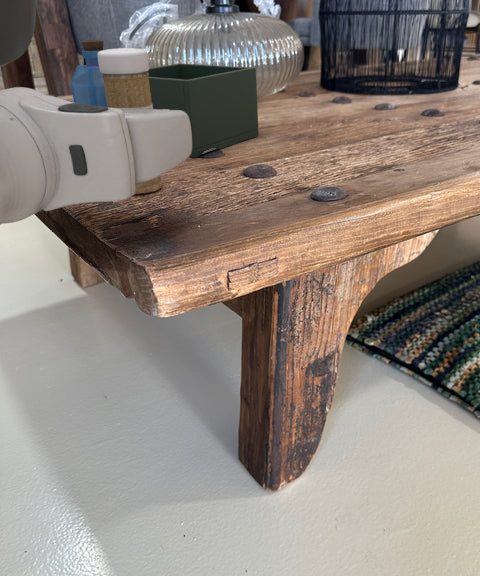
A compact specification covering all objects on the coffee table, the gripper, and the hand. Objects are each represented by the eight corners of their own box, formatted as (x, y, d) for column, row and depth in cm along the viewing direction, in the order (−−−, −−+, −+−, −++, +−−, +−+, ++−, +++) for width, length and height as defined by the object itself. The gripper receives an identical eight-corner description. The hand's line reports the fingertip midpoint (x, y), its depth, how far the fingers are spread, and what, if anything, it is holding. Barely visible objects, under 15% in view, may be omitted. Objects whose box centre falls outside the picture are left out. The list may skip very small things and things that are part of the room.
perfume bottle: (78, 125, 89) (62, 41, 83) (113, 119, 93) (101, 38, 87) (97, 130, 85) (82, 43, 80) (134, 124, 89) (122, 40, 83)
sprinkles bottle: (116, 186, 60) (93, 49, 54) (158, 180, 62) (141, 46, 56) (123, 198, 57) (99, 52, 50) (168, 191, 58) (151, 50, 52)
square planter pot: (118, 145, 77) (106, 74, 72) (185, 126, 87) (179, 63, 82) (195, 158, 70) (187, 80, 66) (258, 135, 80) (256, 67, 76)
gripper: (-76, 182, 47) (36, 143, 59) (145, 202, 41) (220, 155, 53) (-102, 103, 44) (21, 78, 56) (133, 113, 38) (215, 83, 50)
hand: (120, 116), depth 54 cm, fingers open, 8 cm apart
